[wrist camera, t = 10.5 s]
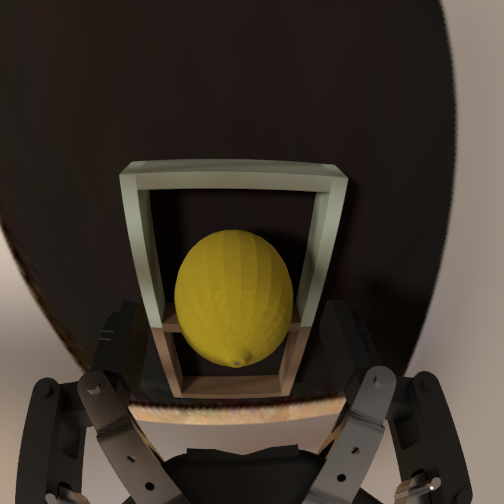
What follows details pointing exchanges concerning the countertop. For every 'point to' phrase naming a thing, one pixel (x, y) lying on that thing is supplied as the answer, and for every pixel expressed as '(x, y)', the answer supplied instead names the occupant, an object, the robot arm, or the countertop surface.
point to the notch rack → (237, 177)
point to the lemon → (233, 298)
